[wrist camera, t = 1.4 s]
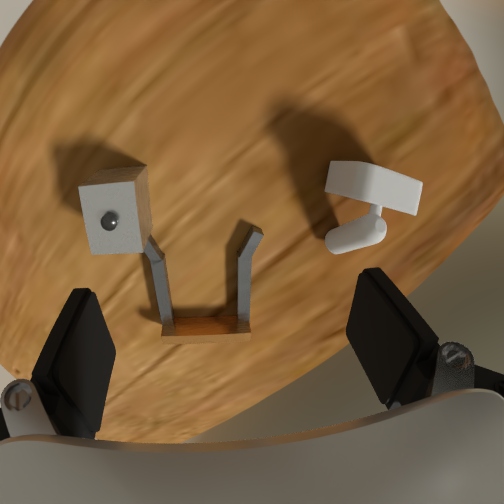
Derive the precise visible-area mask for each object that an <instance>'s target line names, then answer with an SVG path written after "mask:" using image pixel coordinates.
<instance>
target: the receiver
mask: <svg viewBox="0 0 504 504" xmlns="http://www.w3.org/2000/svg"><path fill="white" fill-rule="evenodd" d="M263 236H264V234H263V232H262V229H260V228H257V227H255V226H252V227H251V229H250V230H249V232H248V234H247V236H246V238H245V240H244V242H243V244H242V245H241V247H240V249H239V251H237V315H236V316H216V317H189V318H174V313H173V307H172V301H171V295H170V288H169V282H168V275H167V267H166V260H165V254H163V253H162V251H161V250H160V248H159V246H158V245H157V243H156V242H155V240H154V239H153V237H152V236H151V234H150V235H149V238H148V241H147V244H146V246H145V249H144V252H145V254H146V255H147V257H148V258H149V259H150V262H151V268H152V274H153V280H154V285H155V291H156V296H157V301H158V306H159V311H160V316H161V321H162V333H161V338H162V342H163V344H200V343H223V342H241V341H251V329H250V323H249V317H250V288H251V260H252V255H253V253H254V252H255V250H256V248H257V246H258V245H259V243H260V241H261V239H262V237H263Z"/></svg>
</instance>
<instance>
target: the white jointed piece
mask: <svg viewBox="0 0 504 504" xmlns="http://www.w3.org/2000/svg"><path fill="white" fill-rule="evenodd" d="M422 185H423V183H422V182H421V181H418V180H416V179H413V178H411V177H408V176H405V175H403V174H400V173H397V172H394V171H392V170H389V169H386V168H383V167H380V166H377V165H374V164H370V163H366V162H361V161H331V162H330V166H329V171H328V176H327V181H326V186H325V191H324V192H329V193H333V194H337V195H341V196H345V197H349V198H353V199H357V200H361V201H365V202H368V203H371V205H370V209H369V214H368V215H365V216H362V217H360V218H358V219H355V220H353V221H351V222H348V223H346V224H344V225H341V226H339V227H337V228H334V229H332V230H330V231H329V232H328V233H327V234H326V236H325V244H326V247H327V249H328V250H329V251H330V252H332V253H334V254H340V253H344V252H347V251H351V250H355V249H359V248H362V247H366V246H370V245H373V244H376V243H379V242H380V241H381V240H382V239H383V238H384V237H385V235H386V231H387V226H386V223H385V221H384V220H383V219H382V218H381V217H380V216H381V211H382V206H383V207H387V208H391V209H394V210H398V211H401V212H405V213H408V214H412V215H415V216H416V214H417V209H418V205H419V200H420V195H421V190H422Z"/></svg>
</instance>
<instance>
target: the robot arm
mask: <svg viewBox="0 0 504 504" xmlns="http://www.w3.org/2000/svg"><path fill="white" fill-rule="evenodd" d="M346 335H347V338H348V340H349V342H350V344H351V345H352V347H353V349H354V351H355V353H356V355H357V357H358V359H359V361H360V363H361V365H362V367H363V369H364V370H365V372H366V374H367V376H368V378H369V380H370V382H371V384H372V386H373V388H374V390H375V392H376V394H377V396H378V398H379V400H380V402H381V403H382V404H385V405H386V407H387V409H388V411H385V412H381V413H378V414H375V415H371V416H368V417H364V418H361V419H357V420H353V421H349V422H345V423H341V424H337V425H333V426H328V427H324V428H318V429H314V430H308V431H304V432H298V433H292V434H286V435H280V436H272V437H265V438H257V439H249V440H238V441H227V442H211V443H188V444H187V443H185V444H159V443H133V442H118V441H105V440H95V433H96V432H98V431H99V430H100V427H101V421H102V416H103V411H104V406H105V401H106V396H107V391H108V386H109V382H110V378H111V373H112V369H113V365H114V361H115V356H116V350H115V346H114V343H113V341H112V338H111V336H110V333H109V330H108V328H107V325H106V322H105V320H104V317H103V314H102V311H101V308H100V305H99V302H98V299H97V296H96V294H95V293H94V292H91V290H90V289H89V288H75V289H73V291H72V292H71V294H70V296H69V298H68V299H67V301H66V303H65V305H64V307H63V309H62V311H61V313H60V314H59V316H58V318H57V320H56V322H55V324H54V326H53V328H52V330H51V332H50V334H49V336H48V338H47V340H46V343H45V345H44V347H43V349H42V351H41V353H40V356H39V358H38V360H37V362H36V365H35V367H34V369H33V371H32V378H31V380H30V381H29V380H27V379H17V380H14V381H12V382H11V383H9V384H8V385H7V386H6V387H5V388H4V390H3V392H2V394H1V398H0V403H1V408H0V504H504V375H503V374H500V373H497V372H494V371H492V370H489V369H486V368H483V367H480V366H477V365H475V361H474V357H473V355H472V353H471V351H470V350H469V349H468V348H467V347H466V346H464V345H462V344H460V343H458V342H453V341H451V342H445V343H443V344H442V345H441V346H440V345H439V344H438V343H437V342H438V340H439V338H438V337H437V336H436V334H435V333H434V332H433V330H432V329H431V328H430V327H429V325H428V324H427V323H426V322H425V320H424V319H423V318H422V317H421V316H420V314H419V313H418V312H417V311H416V309H415V308H414V307H413V306H412V304H411V303H410V302H409V301H408V300H407V298H406V297H405V296H404V295H403V294H402V293H401V291H400V290H399V289H398V288H397V287H396V286H395V284H394V283H393V282H392V281H391V280H390V279H389V277H388V276H387V275H386V274H385V273H384V272H383V271H382V270H381V269H380V268H378V267H377V268H367V269H364V270H363V272H362V273H360V274H359V276H358V280H357V285H356V289H355V294H354V298H353V302H352V307H351V311H350V315H349V319H348V323H347V327H346ZM86 438H87V439H86Z"/></svg>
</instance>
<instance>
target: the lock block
mask: <svg viewBox="0 0 504 504" xmlns="http://www.w3.org/2000/svg"><path fill="white" fill-rule="evenodd" d="M78 189H79V195H80V201H81V206H82V212H83V217H84V222H85V227H86V232H87V236H88V241H89V245H90V250H91V254H92V255H96V254H121V253H143V252H144V249H145V246H146V244H147V241H148V238H149V235H150V233H151V230H152V228H153V223H152V214H151V204H150V194H149V183H148V171H147V165H146V166H134V167H123V168H112V169H103V170H98V171H97V172H96V173H95V174H93V175H92V176H91V177H90V178H88V179H87V180H86V181H85V182H83V183H82V184H81V185H80V186H78Z"/></svg>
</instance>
